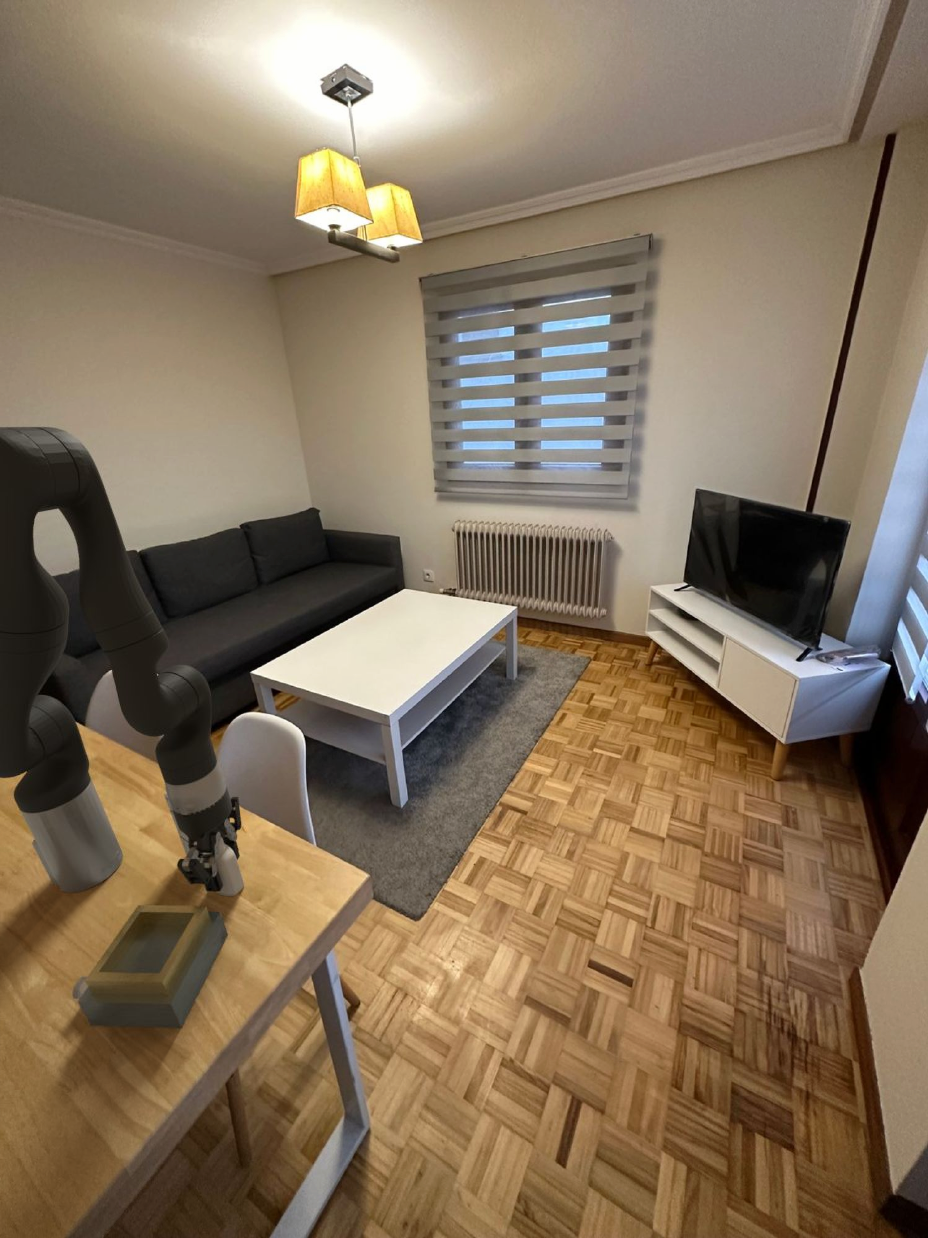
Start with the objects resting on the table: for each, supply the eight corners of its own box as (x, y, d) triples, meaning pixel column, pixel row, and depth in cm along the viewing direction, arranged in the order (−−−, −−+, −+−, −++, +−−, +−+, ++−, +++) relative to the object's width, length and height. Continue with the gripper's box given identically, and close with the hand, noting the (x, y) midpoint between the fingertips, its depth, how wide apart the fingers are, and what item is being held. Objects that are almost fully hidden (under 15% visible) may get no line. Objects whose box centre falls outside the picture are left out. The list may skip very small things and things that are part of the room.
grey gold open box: (68, 1025, 62) (47, 988, 59) (131, 933, 73) (116, 898, 70) (181, 1028, 61) (165, 991, 58) (228, 934, 72) (216, 899, 69)
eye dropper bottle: (218, 906, 76) (199, 851, 72) (210, 882, 80) (192, 828, 76) (246, 890, 79) (230, 836, 74) (237, 867, 83) (221, 814, 78)
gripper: (200, 761, 79) (224, 838, 85) (143, 830, 65) (176, 915, 72) (245, 761, 78) (265, 838, 85) (196, 831, 65) (225, 916, 72)
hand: (224, 873), depth 78 cm, fingers open, 5 cm apart
